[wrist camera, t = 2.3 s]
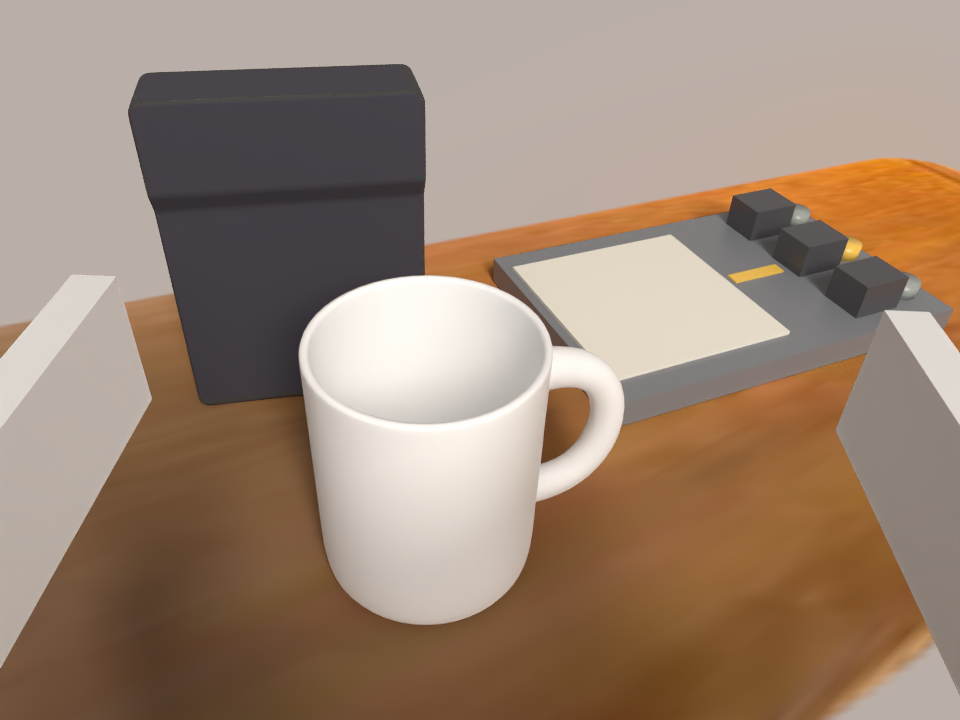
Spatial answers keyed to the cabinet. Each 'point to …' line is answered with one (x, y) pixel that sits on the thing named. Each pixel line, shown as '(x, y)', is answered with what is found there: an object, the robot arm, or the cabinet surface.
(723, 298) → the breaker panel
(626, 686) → the cabinet surface
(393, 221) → the dark grey box
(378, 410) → the mug
